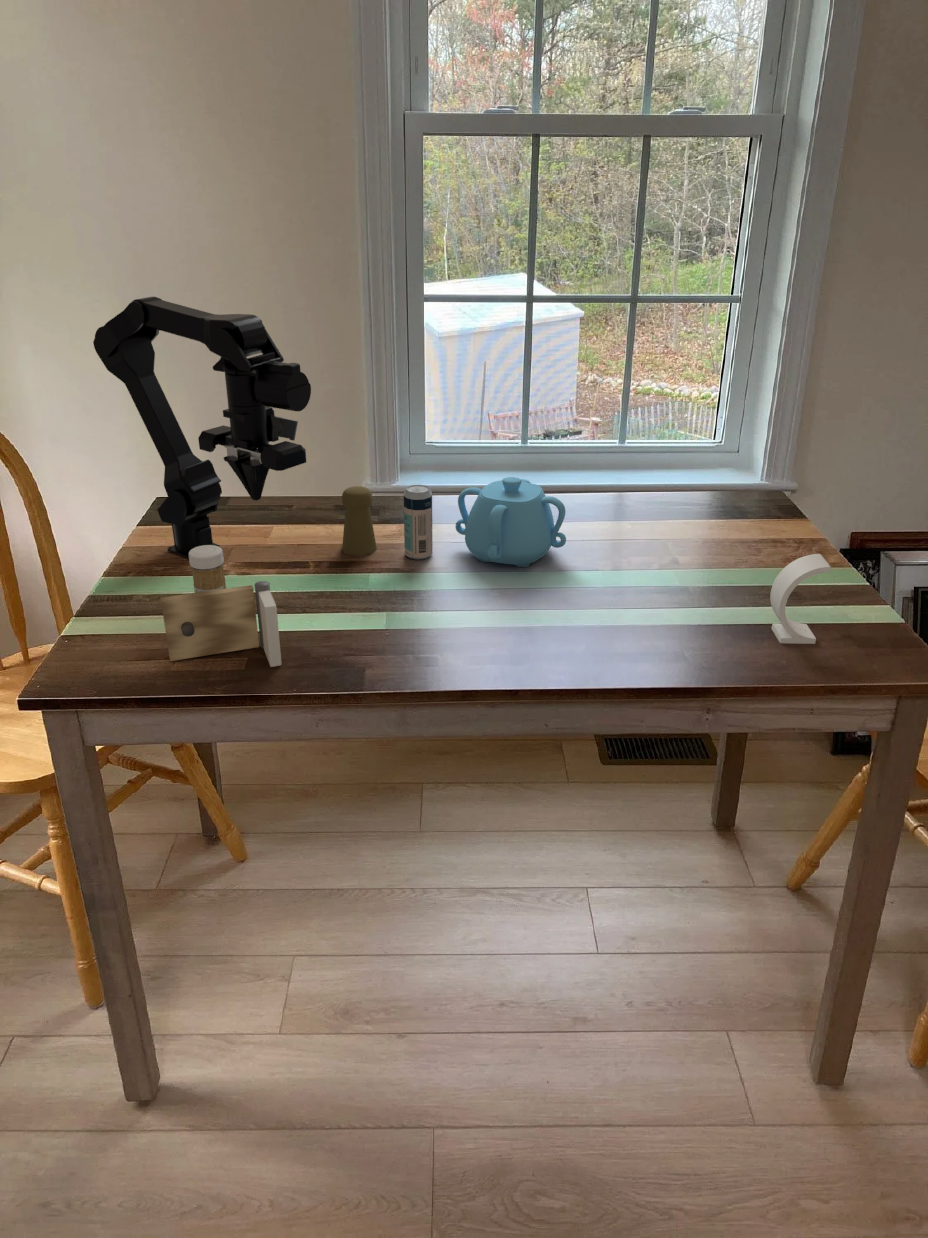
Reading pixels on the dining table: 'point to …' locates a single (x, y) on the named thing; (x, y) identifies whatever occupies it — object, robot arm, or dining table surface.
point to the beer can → (418, 521)
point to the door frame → (268, 623)
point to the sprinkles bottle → (207, 568)
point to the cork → (358, 522)
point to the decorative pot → (510, 522)
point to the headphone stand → (784, 587)
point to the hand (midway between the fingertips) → (256, 499)
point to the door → (210, 622)
